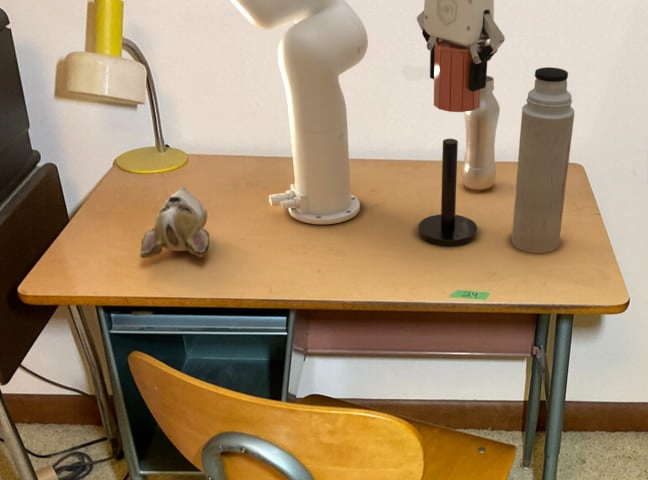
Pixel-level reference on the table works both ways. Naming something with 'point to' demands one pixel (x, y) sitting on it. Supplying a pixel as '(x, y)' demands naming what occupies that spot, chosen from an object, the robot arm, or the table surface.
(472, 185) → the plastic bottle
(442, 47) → the cup
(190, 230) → the ceramic sculpture
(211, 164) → the table surface
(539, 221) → the thermos bottle
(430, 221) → the bowl
